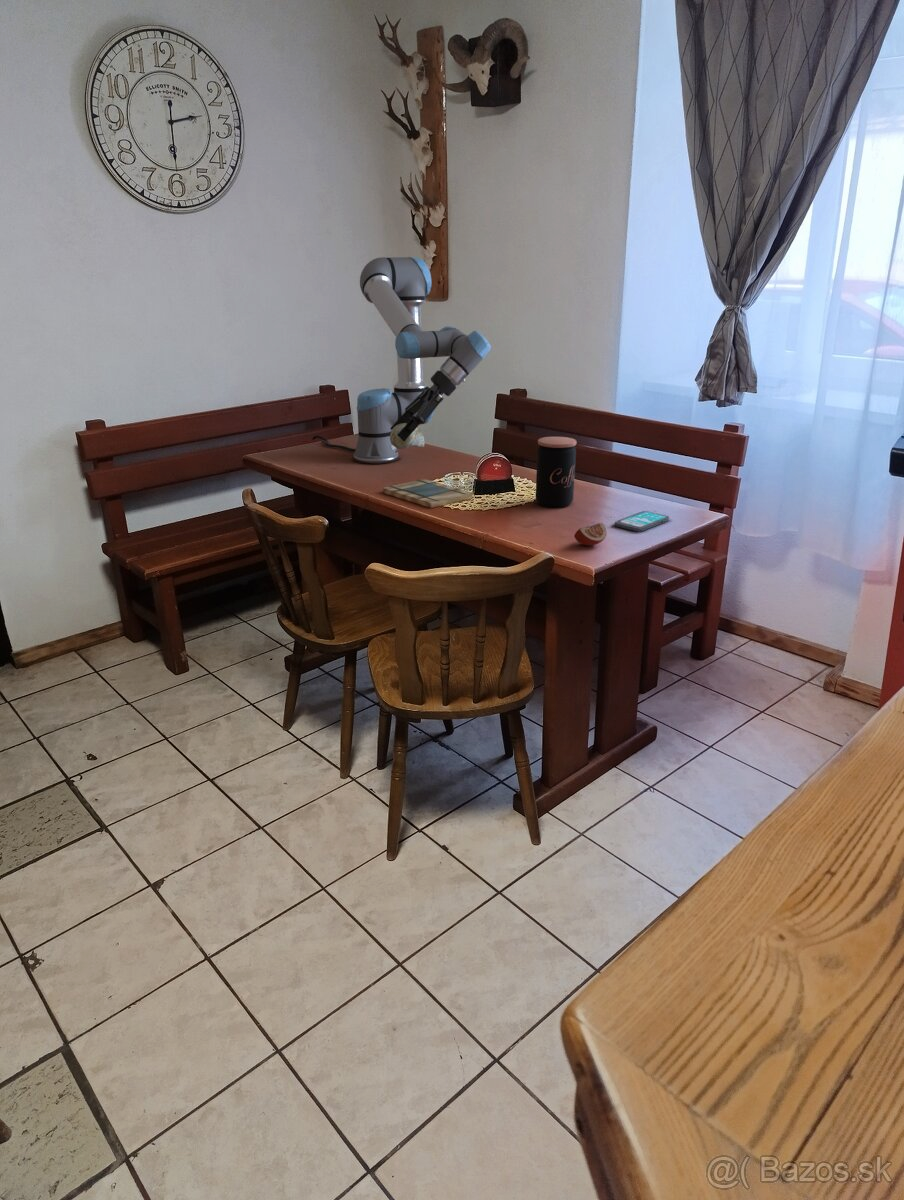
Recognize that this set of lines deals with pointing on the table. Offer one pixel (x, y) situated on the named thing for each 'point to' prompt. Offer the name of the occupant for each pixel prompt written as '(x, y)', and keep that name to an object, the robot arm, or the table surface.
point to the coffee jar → (555, 471)
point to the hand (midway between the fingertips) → (396, 435)
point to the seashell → (412, 440)
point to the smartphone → (641, 521)
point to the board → (427, 493)
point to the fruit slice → (591, 534)
